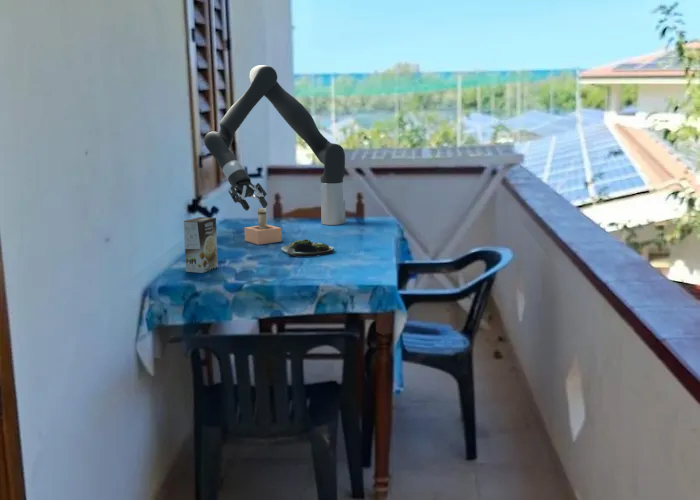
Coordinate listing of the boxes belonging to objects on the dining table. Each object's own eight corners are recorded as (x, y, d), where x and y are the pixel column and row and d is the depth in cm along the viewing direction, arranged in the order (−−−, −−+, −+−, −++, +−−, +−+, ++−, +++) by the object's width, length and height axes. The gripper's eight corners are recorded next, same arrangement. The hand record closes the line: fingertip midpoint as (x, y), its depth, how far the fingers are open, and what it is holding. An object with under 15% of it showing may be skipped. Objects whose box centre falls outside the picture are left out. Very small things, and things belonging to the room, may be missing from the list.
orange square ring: (268, 237, 300) (267, 224, 299) (281, 241, 292) (281, 228, 292) (244, 240, 295) (244, 227, 294) (258, 244, 287) (257, 231, 286)
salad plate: (270, 250, 279) (269, 237, 278) (315, 244, 287) (315, 232, 286) (292, 260, 262) (291, 246, 261) (340, 254, 270) (339, 240, 269)
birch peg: (264, 239, 296) (263, 208, 293) (269, 241, 293) (267, 209, 291) (257, 240, 294) (256, 208, 292) (261, 242, 291) (260, 209, 289)
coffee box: (203, 273, 243) (200, 222, 240) (185, 272, 245) (182, 220, 242) (218, 267, 251) (216, 217, 248) (201, 265, 253) (198, 216, 250)
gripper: (225, 170, 291) (246, 203, 286) (255, 166, 301) (276, 199, 296) (217, 183, 296) (237, 216, 290) (246, 179, 306) (267, 211, 301)
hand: (257, 207), depth 293 cm, fingers open, 8 cm apart
